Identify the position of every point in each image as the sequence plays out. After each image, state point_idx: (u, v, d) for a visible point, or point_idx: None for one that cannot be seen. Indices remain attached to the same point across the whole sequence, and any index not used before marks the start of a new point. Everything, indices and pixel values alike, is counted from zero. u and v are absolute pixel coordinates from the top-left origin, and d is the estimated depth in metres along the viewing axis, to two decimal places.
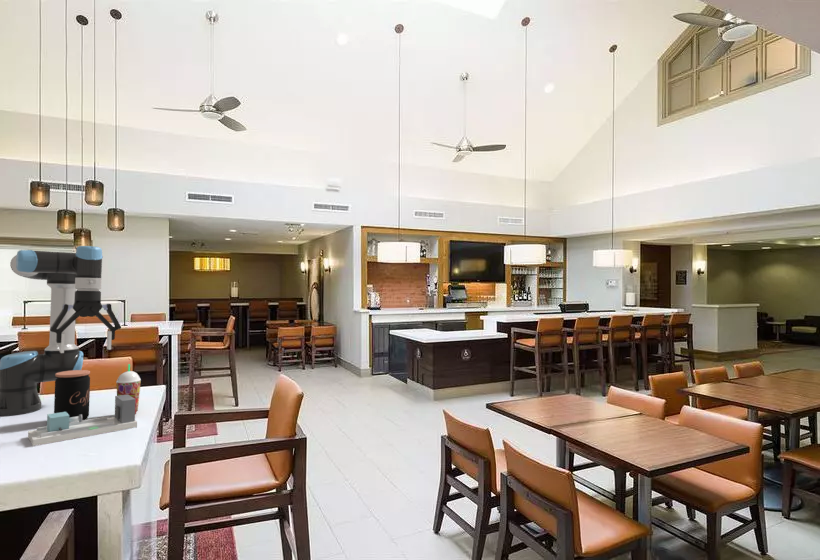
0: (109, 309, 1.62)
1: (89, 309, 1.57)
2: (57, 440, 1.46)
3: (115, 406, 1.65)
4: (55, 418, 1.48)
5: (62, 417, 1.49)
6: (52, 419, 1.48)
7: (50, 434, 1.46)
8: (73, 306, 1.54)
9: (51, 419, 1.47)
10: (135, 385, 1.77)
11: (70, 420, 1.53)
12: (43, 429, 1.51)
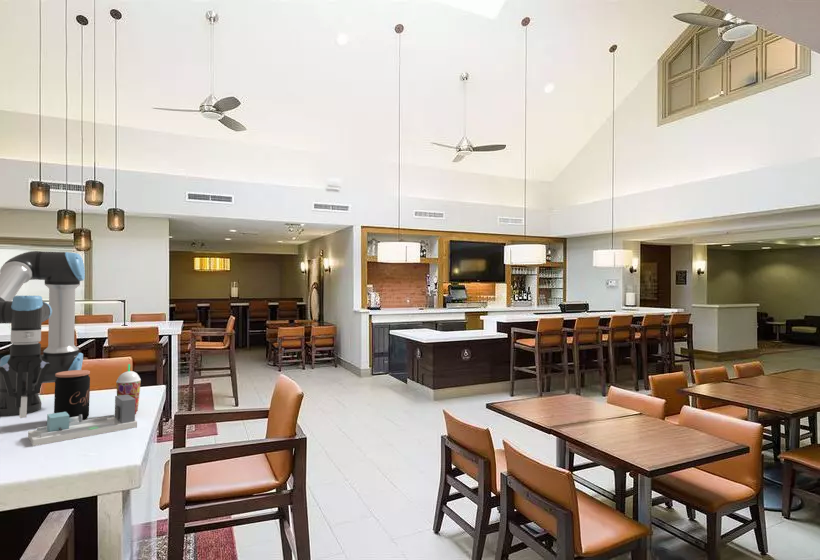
0: (44, 369, 1.48)
1: (27, 362, 1.45)
2: (57, 440, 1.46)
3: (115, 406, 1.65)
4: (55, 418, 1.48)
5: (62, 417, 1.49)
6: (52, 419, 1.48)
7: (50, 434, 1.46)
8: (8, 364, 1.42)
9: (51, 419, 1.47)
10: (135, 385, 1.77)
11: (70, 420, 1.53)
12: (43, 429, 1.51)
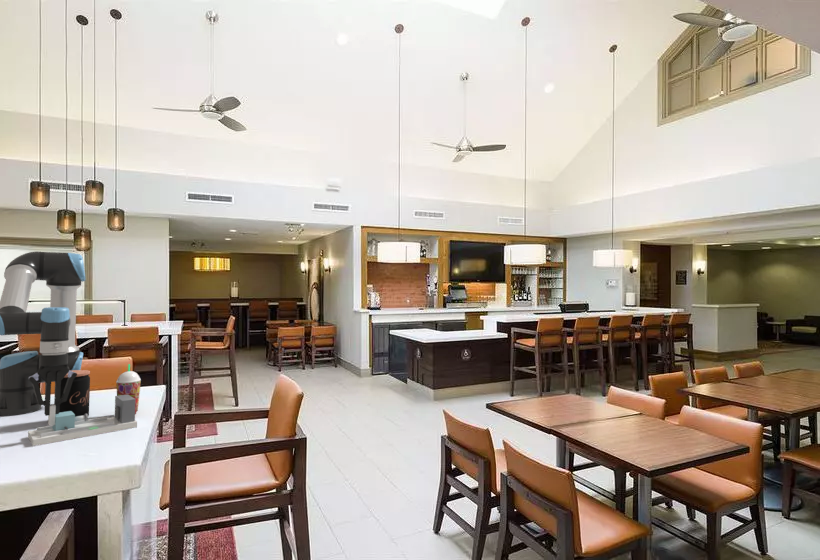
0: (71, 378, 1.53)
1: (55, 372, 1.50)
2: (57, 440, 1.46)
3: (115, 406, 1.65)
4: (61, 417, 1.49)
5: (68, 416, 1.51)
6: (58, 418, 1.49)
7: (50, 434, 1.46)
8: (38, 374, 1.47)
9: (57, 418, 1.48)
10: (135, 385, 1.77)
11: (76, 419, 1.54)
12: (43, 429, 1.51)
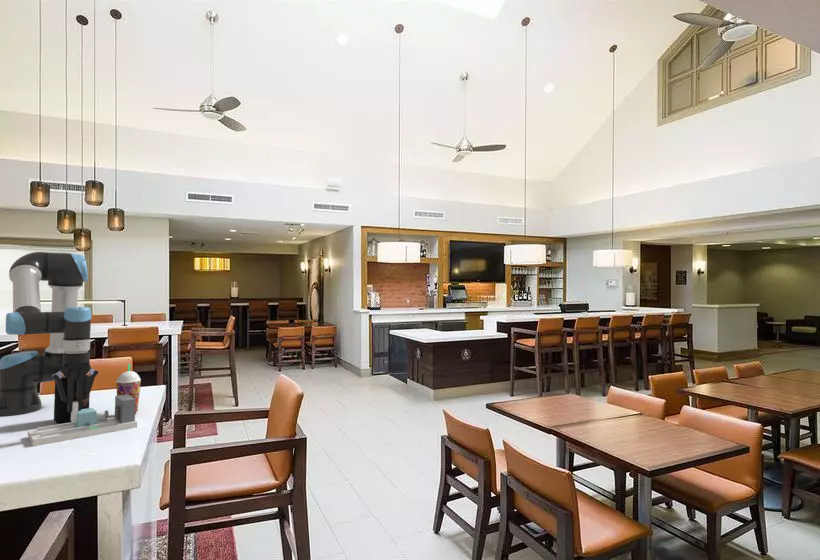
0: (93, 376, 1.57)
1: (77, 369, 1.54)
2: (57, 440, 1.46)
3: (115, 406, 1.65)
4: (83, 414, 1.54)
5: (90, 413, 1.55)
6: (80, 415, 1.53)
7: (50, 434, 1.46)
8: (61, 372, 1.51)
9: (79, 415, 1.53)
10: (135, 385, 1.77)
11: (97, 416, 1.58)
12: (43, 429, 1.51)
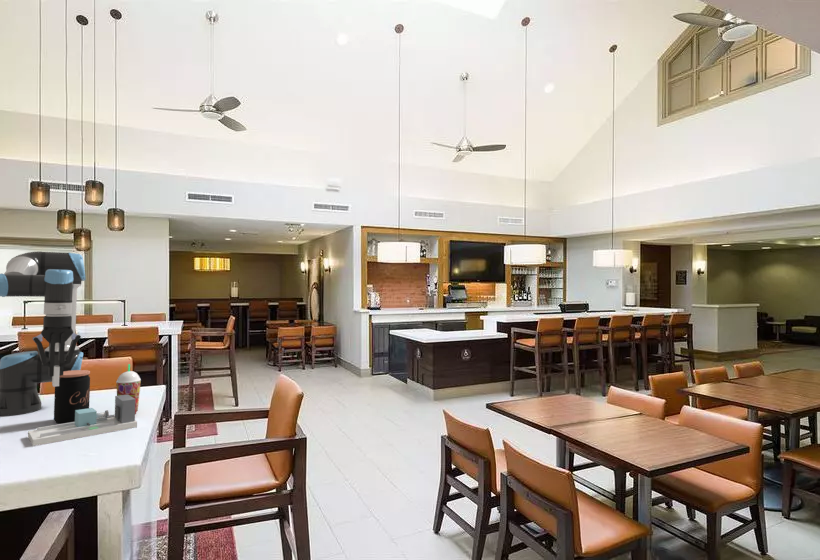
0: (75, 340, 1.54)
1: (59, 333, 1.51)
2: (57, 440, 1.46)
3: (115, 406, 1.65)
4: (83, 414, 1.54)
5: (90, 413, 1.55)
6: (80, 415, 1.53)
7: (50, 434, 1.46)
8: (42, 335, 1.48)
9: (80, 415, 1.53)
10: (135, 385, 1.77)
11: (97, 416, 1.58)
12: (43, 429, 1.51)
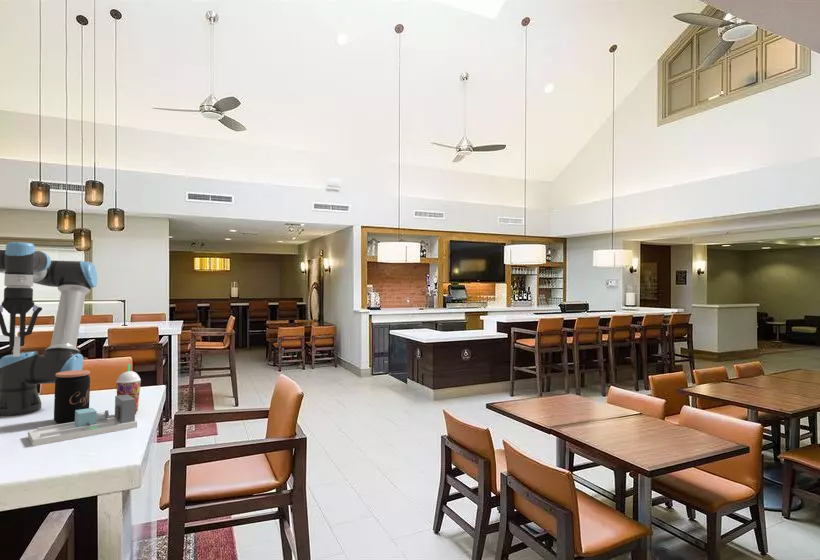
0: (36, 312, 1.57)
1: (20, 304, 1.54)
2: (57, 440, 1.46)
3: (115, 406, 1.65)
4: (83, 414, 1.54)
5: (90, 413, 1.55)
6: (80, 415, 1.53)
7: (50, 434, 1.46)
8: (2, 305, 1.51)
9: (80, 415, 1.53)
10: (135, 385, 1.77)
11: (97, 416, 1.58)
12: (43, 429, 1.51)
